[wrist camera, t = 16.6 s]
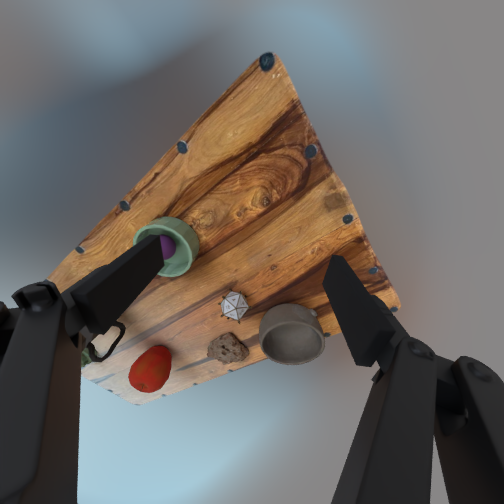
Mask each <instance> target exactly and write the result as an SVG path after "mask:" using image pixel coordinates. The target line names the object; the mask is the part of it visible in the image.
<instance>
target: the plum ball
mask: <svg viewBox="0 0 504 504" xmlns="http://www.w3.org/2000/svg"><path fill="white" fill-rule="evenodd" d="M160 240H161V246H162V252H163V258H164V260H167V259H169V258H171V257H172V256H173V255H174V254H175V252H176V243H175V241H174V240H173V239H172V238H171V237H170V236H168V235H163V234H161V235H160Z"/></svg>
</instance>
